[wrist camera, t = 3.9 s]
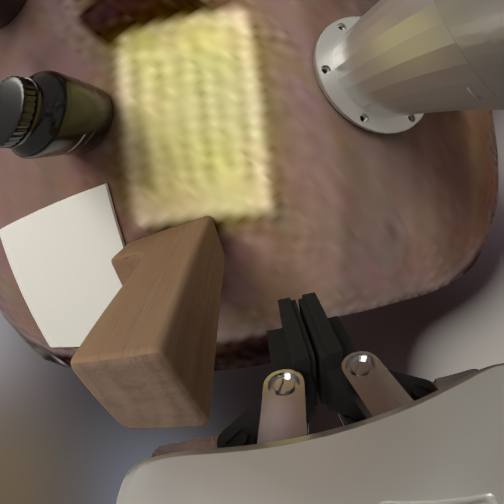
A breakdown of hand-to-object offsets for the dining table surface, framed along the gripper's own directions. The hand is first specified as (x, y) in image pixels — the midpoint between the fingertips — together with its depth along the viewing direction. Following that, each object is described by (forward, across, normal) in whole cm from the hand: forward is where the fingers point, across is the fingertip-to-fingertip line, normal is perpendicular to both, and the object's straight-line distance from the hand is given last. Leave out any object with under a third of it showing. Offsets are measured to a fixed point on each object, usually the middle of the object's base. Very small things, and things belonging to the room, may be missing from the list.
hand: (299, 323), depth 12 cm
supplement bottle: (+14, +15, -15) cm, 26 cm away
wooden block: (+14, +9, 0) cm, 17 cm away
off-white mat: (+14, +23, +1) cm, 27 cm away
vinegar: (+14, +28, -41) cm, 52 cm away
